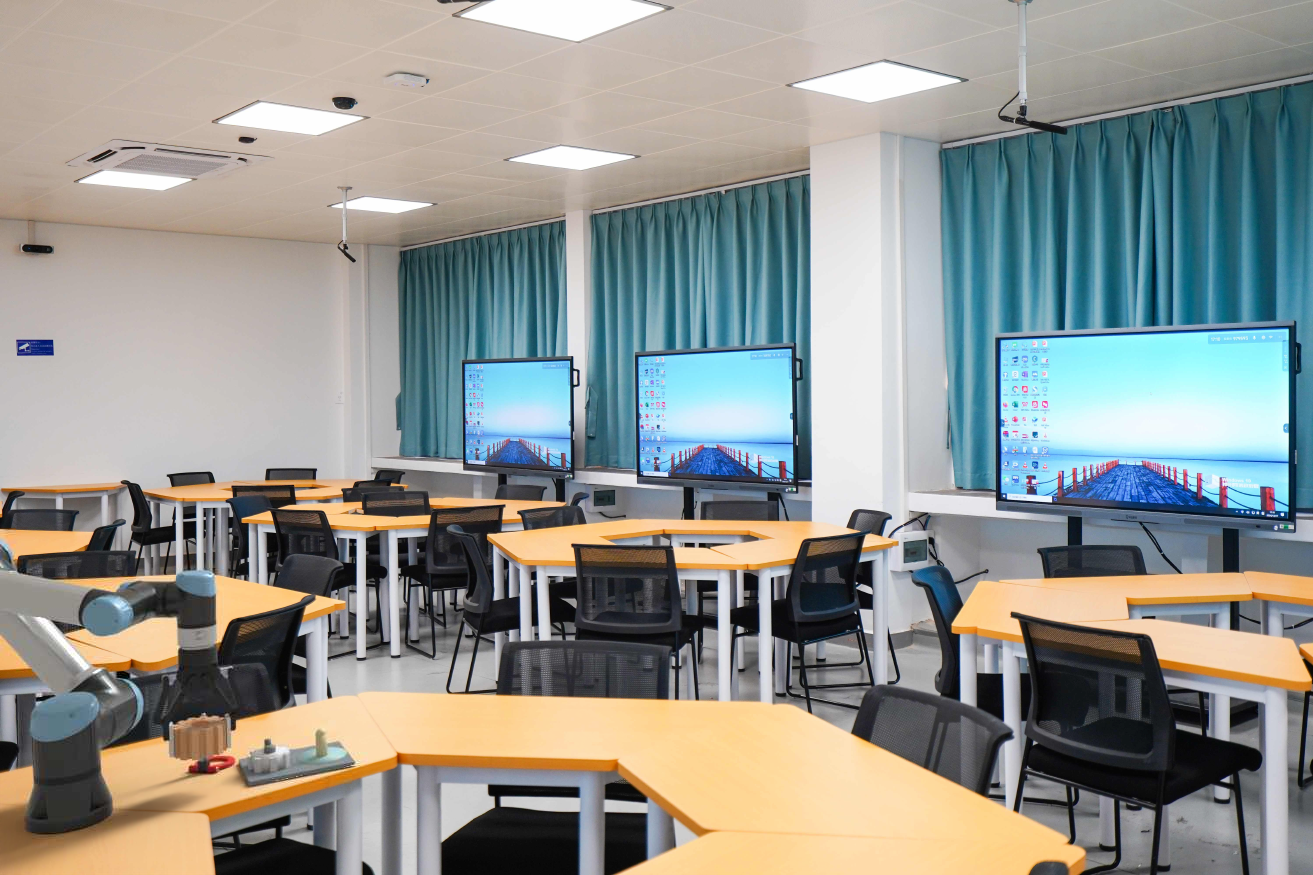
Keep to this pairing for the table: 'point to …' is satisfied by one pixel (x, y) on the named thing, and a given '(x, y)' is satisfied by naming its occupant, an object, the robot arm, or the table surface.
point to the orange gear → (200, 738)
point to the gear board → (293, 760)
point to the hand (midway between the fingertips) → (200, 750)
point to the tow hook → (204, 763)
